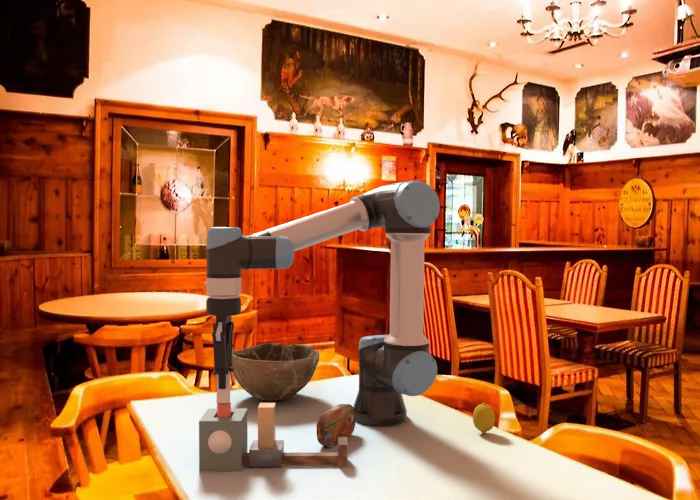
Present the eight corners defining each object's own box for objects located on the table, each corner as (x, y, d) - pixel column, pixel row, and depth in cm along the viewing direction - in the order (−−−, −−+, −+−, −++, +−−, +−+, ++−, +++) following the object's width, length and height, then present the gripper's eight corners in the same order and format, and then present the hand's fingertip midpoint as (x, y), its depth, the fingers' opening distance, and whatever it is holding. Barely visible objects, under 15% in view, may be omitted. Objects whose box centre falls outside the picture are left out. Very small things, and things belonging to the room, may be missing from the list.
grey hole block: (247, 455, 136) (247, 408, 136) (240, 472, 127) (240, 421, 126) (208, 455, 136) (208, 408, 136) (198, 472, 127) (198, 421, 126)
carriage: (283, 456, 135) (283, 401, 134) (281, 467, 129) (281, 409, 128) (253, 456, 135) (253, 401, 134) (249, 467, 129) (249, 409, 128)
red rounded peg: (232, 436, 133) (232, 401, 133) (229, 440, 130) (229, 405, 130) (218, 436, 133) (218, 401, 133) (215, 441, 130) (215, 405, 130)
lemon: (496, 431, 153) (496, 401, 153) (492, 438, 148) (492, 407, 148) (475, 428, 155) (475, 398, 155) (470, 435, 150) (470, 404, 150)
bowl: (329, 390, 193) (329, 344, 192) (305, 415, 166) (305, 362, 166) (250, 384, 199) (250, 340, 198) (215, 407, 173) (214, 357, 172)
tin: (324, 452, 139) (325, 416, 138) (313, 449, 140) (314, 414, 140) (356, 433, 152) (357, 401, 151) (346, 431, 153) (346, 399, 153)
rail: (346, 458, 135) (347, 437, 134) (347, 467, 130) (347, 444, 129) (246, 458, 134) (246, 437, 134) (242, 467, 129) (242, 445, 129)
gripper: (213, 293, 137) (212, 394, 138) (199, 299, 124) (199, 410, 124) (245, 293, 137) (244, 394, 138) (235, 300, 124) (235, 411, 125)
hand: (223, 402), depth 131 cm, fingers closed
